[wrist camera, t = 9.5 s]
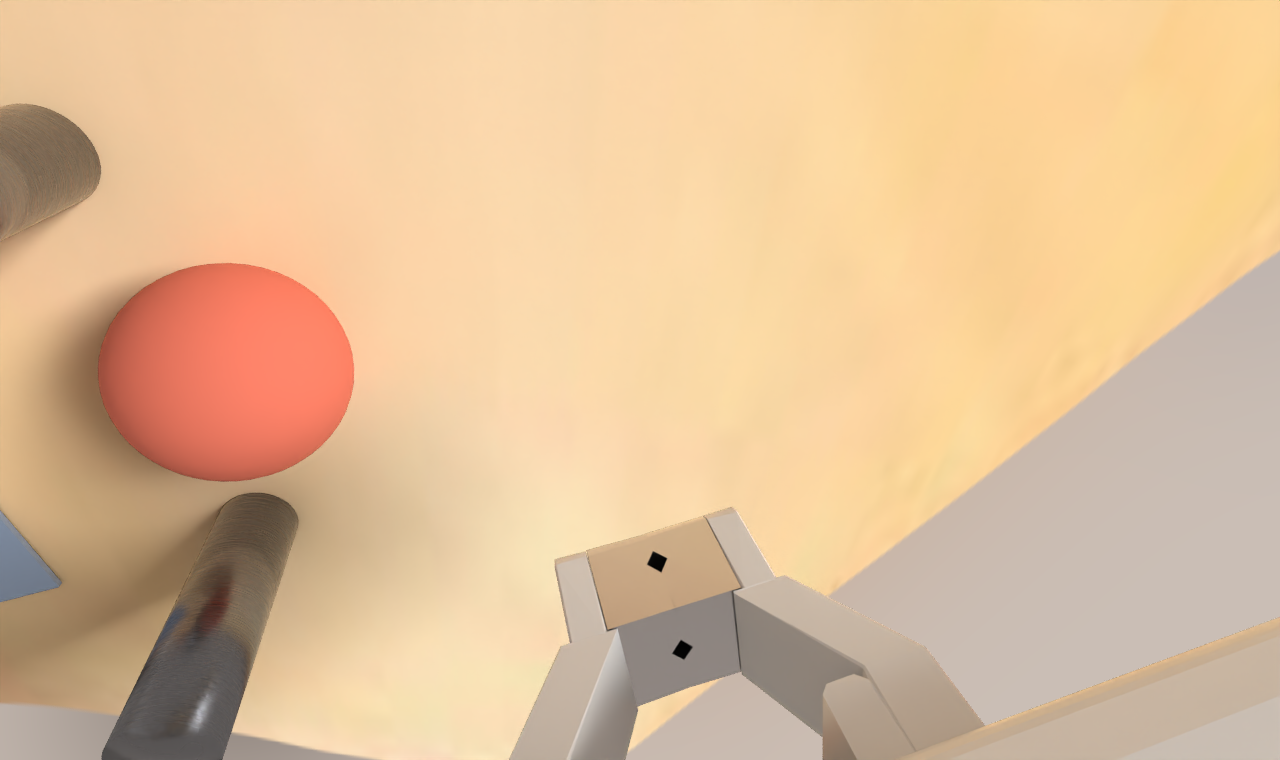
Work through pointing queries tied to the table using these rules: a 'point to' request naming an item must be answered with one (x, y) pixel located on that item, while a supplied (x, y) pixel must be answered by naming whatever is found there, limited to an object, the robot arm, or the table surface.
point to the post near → (41, 166)
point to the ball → (226, 372)
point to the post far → (209, 638)
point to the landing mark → (21, 565)
